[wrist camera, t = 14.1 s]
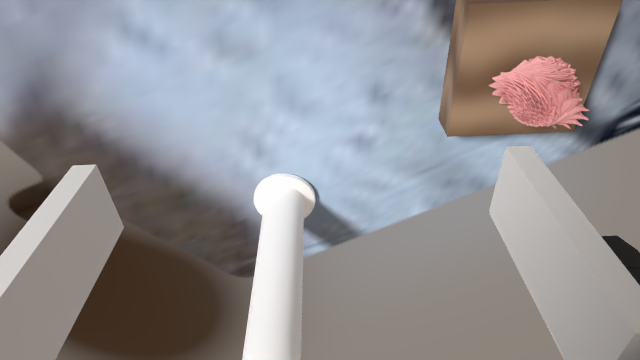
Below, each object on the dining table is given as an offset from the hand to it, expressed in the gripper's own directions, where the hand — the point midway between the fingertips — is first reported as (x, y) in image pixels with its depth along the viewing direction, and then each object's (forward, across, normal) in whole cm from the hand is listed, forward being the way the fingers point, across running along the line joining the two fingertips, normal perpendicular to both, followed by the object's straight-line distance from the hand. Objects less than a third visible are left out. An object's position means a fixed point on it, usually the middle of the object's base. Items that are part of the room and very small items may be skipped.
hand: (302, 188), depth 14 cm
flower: (+24, +19, -7) cm, 31 cm away
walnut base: (+27, +19, -7) cm, 34 cm away
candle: (+27, -4, -22) cm, 35 cm away
